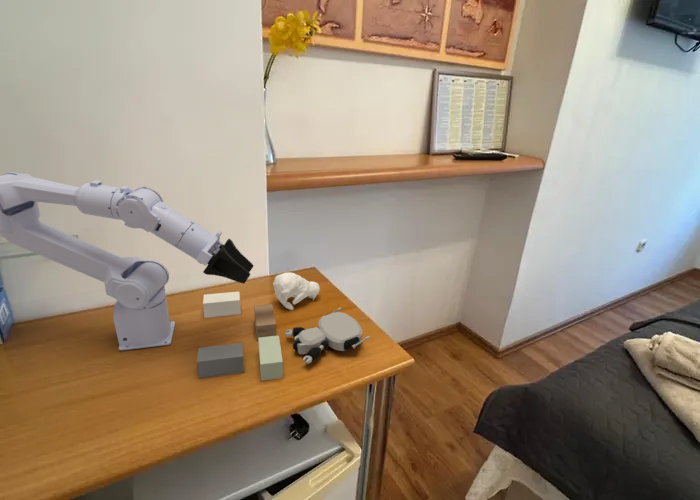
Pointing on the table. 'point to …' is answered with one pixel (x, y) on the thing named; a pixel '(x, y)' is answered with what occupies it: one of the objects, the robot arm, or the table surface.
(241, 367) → the charcoal brick
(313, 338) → the robot toy
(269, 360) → the sage brick
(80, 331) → the table surface
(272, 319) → the walnut brick
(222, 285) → the table surface
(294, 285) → the white animal figurine
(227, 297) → the off-white brick
